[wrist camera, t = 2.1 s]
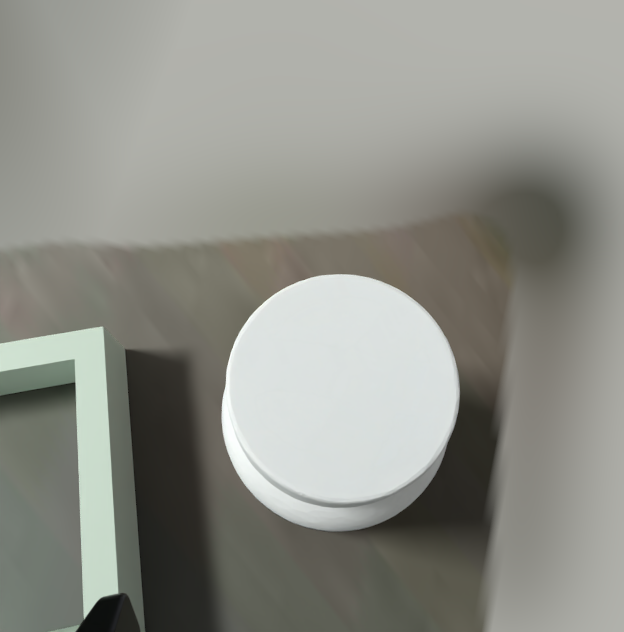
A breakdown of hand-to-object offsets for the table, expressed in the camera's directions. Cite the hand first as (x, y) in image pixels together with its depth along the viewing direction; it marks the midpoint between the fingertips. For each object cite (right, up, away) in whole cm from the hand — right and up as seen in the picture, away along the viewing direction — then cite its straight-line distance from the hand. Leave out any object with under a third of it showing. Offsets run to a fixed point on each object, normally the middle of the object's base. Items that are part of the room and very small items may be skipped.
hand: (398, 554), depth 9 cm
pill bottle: (-1, -1, +11) cm, 11 cm away
